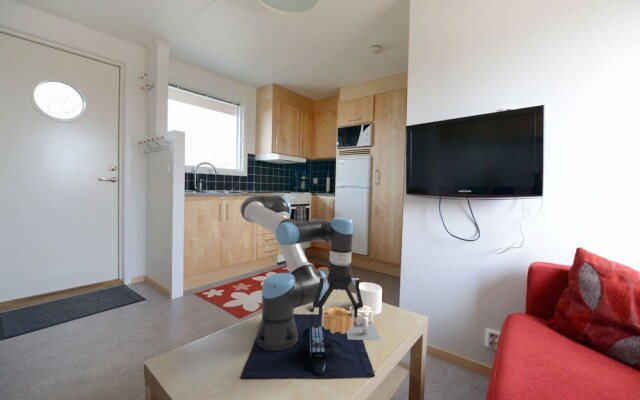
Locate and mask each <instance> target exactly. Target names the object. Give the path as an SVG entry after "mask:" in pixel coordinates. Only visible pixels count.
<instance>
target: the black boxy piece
mask: <svg viewBox="0 0 640 400" xmlns="http://www.w3.org/2000/svg"><path fill="white" fill-rule="evenodd" d="M319 301H320V300H319ZM315 308H319V307H318V306H315V305H314V303H313V304H312V307H311V308H309V310H308V312H310V313H314V312H315Z"/></svg>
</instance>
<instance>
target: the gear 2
mask: <svg viewBox="0 0 640 400" xmlns="http://www.w3.org/2000/svg"><path fill="white" fill-rule="evenodd" d="M363 306H364V310H359V308H358V310H357V318H354V322H355V323H356V325H359V326H360V324H363V317H367V318H368V325H369V323H372V322H374V315H373V311H372V308H371V307H368V306H366V305H363ZM348 311H350V312H351V306H350V307H349V310H348Z"/></svg>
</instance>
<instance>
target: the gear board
mask: <svg viewBox="0 0 640 400" xmlns="http://www.w3.org/2000/svg"><path fill="white" fill-rule="evenodd" d="M359 310H364V306H363V307H362V308H359ZM346 336H347V340H349V341H350V340H354V341H361V340H362V341H381V338H380V336H379V333H378V331H377V328H376V326H375V322H374V321H373V322H372V323H369V325H368V318H367V317H363V324H360V326H359V325H356V323H355V322H354V328H351V330H346Z"/></svg>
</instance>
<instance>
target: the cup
mask: <svg viewBox="0 0 640 400" xmlns="http://www.w3.org/2000/svg"><path fill="white" fill-rule="evenodd" d="M359 289H360V294H361V298H362V303H363V305H366V306H368V307H371V308H372V311H373V316H374V315H375V316H376V315H378V314H380V313H382V303H383V302H382V299H383V297H382V295H383V288H382V285H379V284H377V283H374V282H370V281H369V282H368V281H367V282H366V281H365V282H360V283H359ZM355 301H356V303H359V302H358V298H357V293H356V292H355Z"/></svg>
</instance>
